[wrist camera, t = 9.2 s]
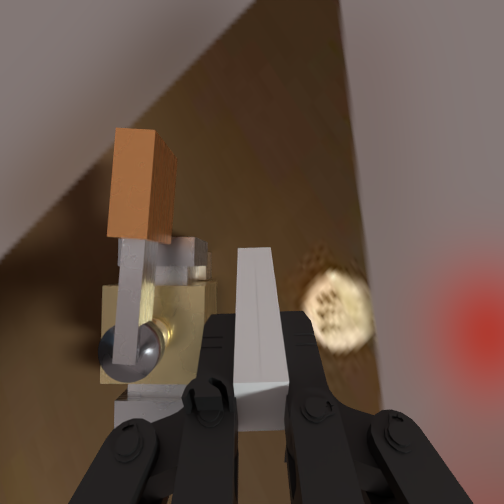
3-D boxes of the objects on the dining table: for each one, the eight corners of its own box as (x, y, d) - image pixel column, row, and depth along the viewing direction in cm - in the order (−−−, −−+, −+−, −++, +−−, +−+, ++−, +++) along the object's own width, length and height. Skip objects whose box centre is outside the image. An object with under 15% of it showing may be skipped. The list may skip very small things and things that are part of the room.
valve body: (218, 383, 26) (201, 442, 18) (146, 382, 26) (93, 440, 18) (220, 244, 27) (203, 235, 18) (148, 243, 27) (98, 235, 18)
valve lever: (171, 365, 18) (146, 395, 14) (120, 362, 18) (81, 390, 14) (186, 159, 18) (167, 130, 14) (137, 156, 18) (104, 126, 14)
